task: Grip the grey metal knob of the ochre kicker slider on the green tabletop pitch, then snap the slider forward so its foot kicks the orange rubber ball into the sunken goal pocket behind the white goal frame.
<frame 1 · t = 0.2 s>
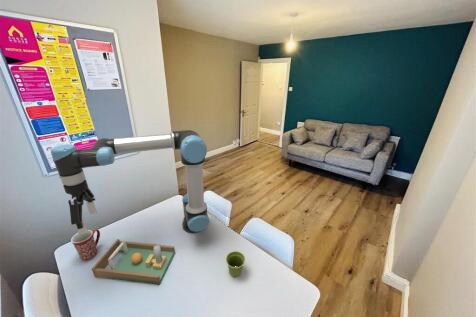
hand: (88, 222, 88), 28 cm above the table, fingers open, 13 cm apart
kicker: (154, 255, 96), point 8 cm above the table, slide at 0.0 cm
mug: (92, 252, 106), on the table
plant pot: (235, 271, 97), on the table
ball: (136, 258, 98), point 4 cm above the table, touching pitch
pitch: (140, 264, 100), on the table
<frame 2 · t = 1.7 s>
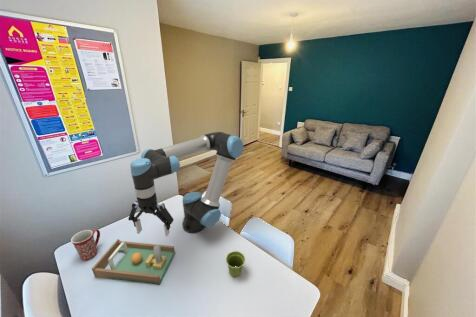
hand: (153, 233, 90), 22 cm above the table, fingers open, 13 cm apart
nothing on the table moved.
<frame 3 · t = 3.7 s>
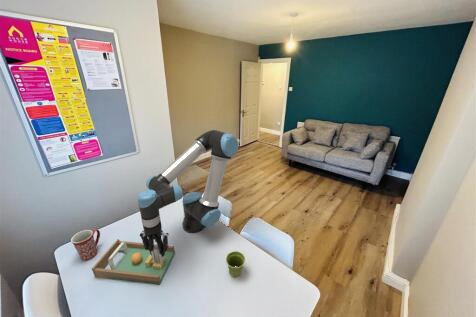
hand: (158, 259, 97), 5 cm above the table, fingers closed on kicker, 3 cm apart
kicker: (154, 255, 96), point 8 cm above the table, slide at 0.1 cm, touching gripper
everything else where it was.
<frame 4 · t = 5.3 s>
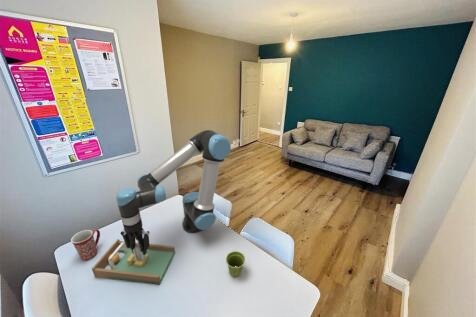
hand: (140, 257, 98), 5 cm above the table, fingers closed on kicker, 3 cm apart
kicker: (136, 253, 97), point 8 cm above the table, slide at 9.5 cm, touching gripper
ball: (113, 258, 100), point 2 cm above the table, tilted 69°
everything else where it was.
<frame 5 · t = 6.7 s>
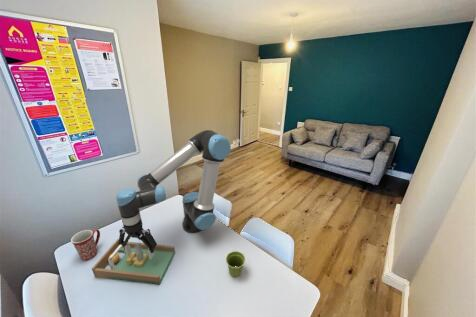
hand: (140, 255, 97), 7 cm above the table, fingers open, 11 cm apart
kicker: (135, 253, 97), point 8 cm above the table, slide at 9.9 cm
everything else where it was.
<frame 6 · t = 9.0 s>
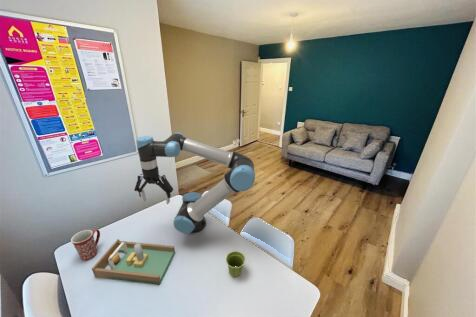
hand: (156, 202, 106), 26 cm above the table, fingers open, 13 cm apart
nothing on the table moved.
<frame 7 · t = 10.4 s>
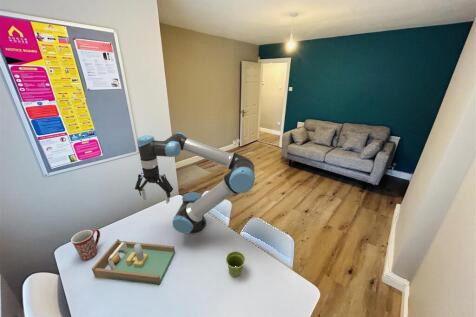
hand: (156, 201, 106), 27 cm above the table, fingers open, 13 cm apart
nothing on the table moved.
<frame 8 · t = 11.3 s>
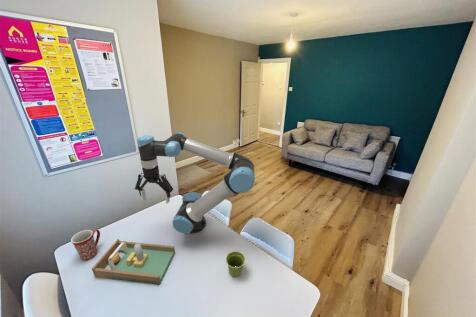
hand: (156, 201, 106), 27 cm above the table, fingers open, 13 cm apart
nothing on the table moved.
at the end: ball inside the target area (0.4 cm from its centre), point 2.5 cm above the table; kicker slide at 9.9 cm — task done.
